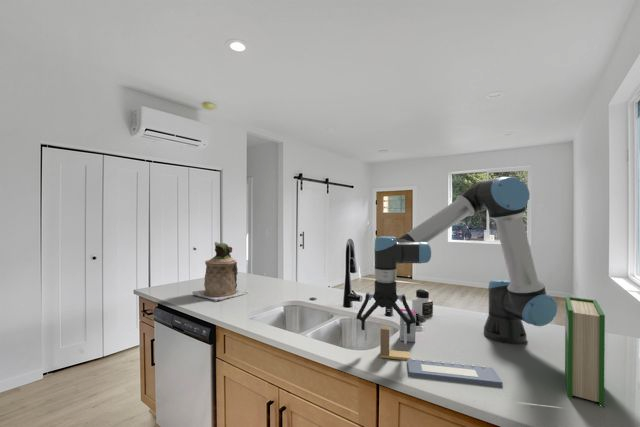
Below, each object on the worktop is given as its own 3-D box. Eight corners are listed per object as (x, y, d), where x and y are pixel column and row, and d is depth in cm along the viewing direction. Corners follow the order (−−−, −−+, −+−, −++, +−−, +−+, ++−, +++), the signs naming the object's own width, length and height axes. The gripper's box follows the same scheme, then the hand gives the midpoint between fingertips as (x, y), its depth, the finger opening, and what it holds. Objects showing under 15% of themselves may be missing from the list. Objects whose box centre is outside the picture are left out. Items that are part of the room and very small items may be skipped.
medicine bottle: (422, 317, 152) (422, 292, 152) (411, 313, 159) (411, 289, 159) (433, 315, 155) (433, 290, 155) (422, 311, 162) (422, 287, 162)
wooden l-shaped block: (409, 354, 112) (409, 326, 112) (410, 360, 107) (410, 331, 107) (380, 351, 114) (380, 324, 114) (380, 357, 109) (380, 329, 109)
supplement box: (415, 343, 121) (416, 314, 121) (400, 342, 123) (400, 312, 123) (414, 337, 127) (414, 309, 127) (399, 336, 128) (399, 308, 128)
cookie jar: (217, 302, 175) (218, 244, 175) (190, 296, 189) (190, 242, 189) (250, 293, 196) (250, 241, 196) (223, 287, 209) (223, 239, 209)
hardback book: (604, 407, 82) (604, 315, 82) (567, 397, 86) (568, 309, 86) (595, 378, 96) (596, 300, 96) (564, 371, 101) (565, 296, 101)
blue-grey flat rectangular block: (492, 372, 100) (492, 366, 100) (502, 387, 91) (502, 381, 91) (407, 363, 105) (407, 358, 105) (409, 376, 97) (409, 371, 97)
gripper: (348, 281, 110) (348, 341, 110) (423, 284, 105) (423, 348, 105) (351, 276, 117) (351, 333, 117) (421, 279, 112) (421, 339, 112)
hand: (385, 340), depth 111 cm, fingers open, 13 cm apart
